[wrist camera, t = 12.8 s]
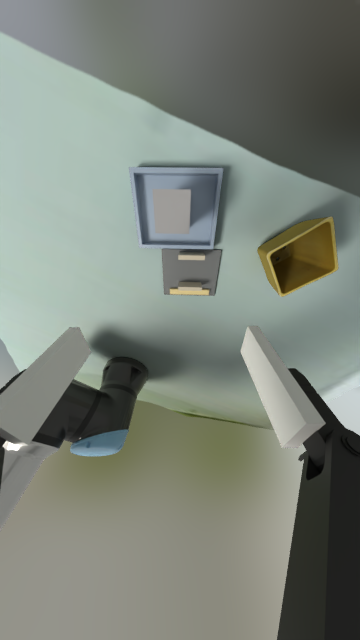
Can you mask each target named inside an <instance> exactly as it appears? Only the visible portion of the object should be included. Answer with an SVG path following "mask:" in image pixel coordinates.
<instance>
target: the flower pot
mask: <svg viewBox="0 0 360 640" xmlns="http://www.w3.org/2000/svg"><path fill="white" fill-rule="evenodd" d="M284 246H285V248H282V247H284ZM257 251H258V254H259V256H260V259H261V262H262V264H263V267H264V270H265V273H266V276H267V279H268V281H269V283H270V284H271V286H272V287H273V288H274V289H275V290H276V292H277V293H278V294H279V295H280V296H281V297H283V296H285V295H287V294H290V293H292V292H294V291H295V290H297V289H300V288H301V287H303V286H305V285H308V284H310V283H312V282H314V281H316V280H319V279H321V278H323V277H325V276H327V275H329V274H331V273H333V272H335V271H337V270H338V259H337V250H336V240H335V229H334V221H333V217H325V218H319V219H313V220H308V221H304V222H301V223H298V224H296V225H294V226H292V227H291V228H289V229H287V230H286V231H284V232H283V233H281V234H279V235H278V236H276V237H275V238H273V239H271V240H270V241H268V242H266V243H265V244H263V245H261V246H260V247H259V248H258V250H257ZM277 257H279V259H278V260H276V258H277Z"/></svg>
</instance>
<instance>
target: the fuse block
mask: <svg viewBox="0 0 360 640" xmlns="http://www.w3.org/2000/svg"><path fill="white" fill-rule="evenodd" d="M220 256H221V250H201V249H162V263H163V282H164V294H168V295H207V296H214V294H215V288H216V281H217V275H218V268H219V262H220Z"/></svg>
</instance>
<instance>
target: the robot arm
mask: <svg viewBox="0 0 360 640" xmlns="http://www.w3.org/2000/svg"><path fill="white" fill-rule="evenodd" d="M240 352H241V354H242V356H243V359H244V361H245V363H246V366H247V368H248V370H249V373H250V375H251V377H252V380H253V382H254V384H255V386H256V389H257V391H258V393H259V396H260V398H261V400H262V403H263V405H264V407H265V410H266V412H267V414H268V416H269V419H270V421H271V423H272V426H273V428H274V430H275V432H276V435H277V437H278V440H279V442H280V444H281V446H282V448H298V447H299V446H300V445H302V444H303V445H304V446H305V448H306V450H307V451H306V452H304V453H303V454H302V455H300V457H299V460H300V461H302V460H303V459H304V464H303V470H302V477H301V483H300V490H299V497H298V503H297V511H296V518H295V523H294V530H293V537H292V543H291V550H290V557H289V564H288V570H287V577H286V584H285V590H284V597H283V604H282V610H281V617H280V623H279V630H278V637H277V640H360V436H359V435H358V434H356V433H354V432H353V431H350V430H348V429H346V428H345V427H344V426H343V425H342V424H341V423H340V422H339V420H338V419H337V418H336V416H335V415H334V414H333V412H332V411H331V410H330V409H329V407H328V406H327V405H326V403H325V402H324V401H323V399H322V398H321V397H320V396H319V394H317V392H316V390H315V389H314V388H313V386H311V384H310V383H309V381H308V380H307V379H306V377H305V376H304V375H303V374H301V373H300V372H299V371H298V370H296V369H295V368H290V369H287V367H286V366H285V364H284V363H283V361H282V360H281V358H280V357H279V356H278V354H277V353H276V351H275V350H274V348H273V347H272V346H271V344H270V343H269V341H268V340H267V338H266V337H265V336H264V334H263V333H262V331H261V330H260V328H259V327H258V326H248V327H247V330H246V334H245V337H244V341H243V344H242V348H241V351H240ZM90 354H91V350H90V348H89V346H88V344H87V342H86V340H85V338H84V336H83V334H82V332H81V330H80V328H79V327H70V328H69V329H68V330H67V331H66V332H64V333H63V334H62V335H61V336H60V337H59V338H58V339H57V340H56V341H55V342H54V343H53V344H52V345H51V346H50V347H49V348H48V349H47V350H46V351H45V352H44V353H43V354H42V355H41V356H40V357H39V358H38V359H37V360H36V361H35V362H34V363H33V364H31V365H30V366H29V367H28V368H27V369H25V370H23V371H22V372H20V373H19V374H17V375H16V376H14V377H13V378H12V379H11V380H10V381H9V382H8V383H7V384H6V386H4V387H3V388H1V389H0V531H1V529H2V528H3V526H4V524H5V523H6V521H7V519H8V518H9V516H10V514H11V513H12V511H13V510H14V508H15V506H16V505H17V503H18V501H19V500H20V498H21V496H22V495H23V493H24V491H25V490H26V488H27V486H28V485H29V483H30V482H31V480H32V478H33V477H34V475H35V473H36V472H37V470H38V468H39V467H40V465H41V463H42V462H43V460H44V459H45V458H47V457H48V456H50V455H51V454H53V453H55V452H56V451H58V450H59V448H60V446H61V444H62V442H63V441H64V440H66V441H70V442H72V443H73V444H72V445H71V449H70V451H71V452H72V453H74V454H76V455H81V456H105V455H111V454H114V453H116V452H118V451H120V450H121V448H122V447H123V445H124V442H125V439H126V436H127V433H128V431H129V430H128V429H129V425H130V421H131V418H132V414H133V410H134V406H135V402H136V398H137V395H138V394H139V392H140V390H141V389H142V387H143V386H144V384H145V383H146V380H147V376H148V371H147V369H146V367H145V366H144V365H143V364H141V363H140V362H138V361H136V360H134V359H130V358H125V357H119V358H114V359H111V360H109V361H108V362H107V364H106V366H105V367H104V370H103V376H102V383H101V388H100V390H97V389H95V388H93V387H90V386H88V385H86V384H84V383H81V382H79V381H77V380H75V379H74V377H75V376H76V374H77V373H78V371H79V370H80V368H81V367H82V365H83V364H84V362H85V361H86V359H87V358H88V357H89V355H90Z"/></svg>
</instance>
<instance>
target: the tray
mask: <svg viewBox="0 0 360 640" xmlns="http://www.w3.org/2000/svg"><path fill="white" fill-rule="evenodd" d="M129 173H130V180H131V188H132V196H133V203H134V211H135V219H136V226H137V234H138V242H139V248H168V249H213V246H214V239H215V231H216V223H217V215H218V207H219V199H220V191H221V183H222V175H223V168H168V167H129ZM152 189H189V190H191V202H190V227H189V234H164V233H155V219H154V205H153V190H152Z"/></svg>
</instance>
